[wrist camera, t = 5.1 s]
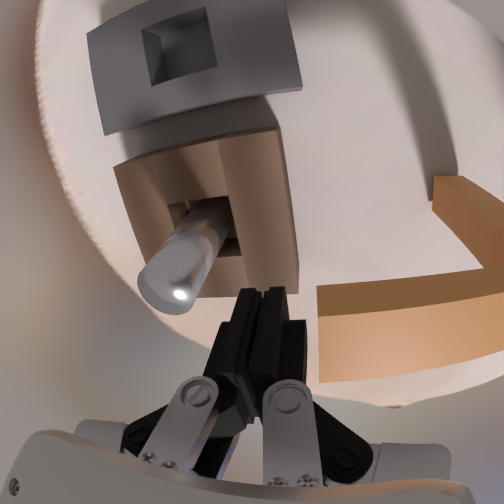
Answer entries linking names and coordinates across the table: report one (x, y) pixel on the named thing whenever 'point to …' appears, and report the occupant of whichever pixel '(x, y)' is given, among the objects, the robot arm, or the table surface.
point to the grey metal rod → (186, 257)
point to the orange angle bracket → (421, 302)
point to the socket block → (231, 188)
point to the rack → (189, 58)
